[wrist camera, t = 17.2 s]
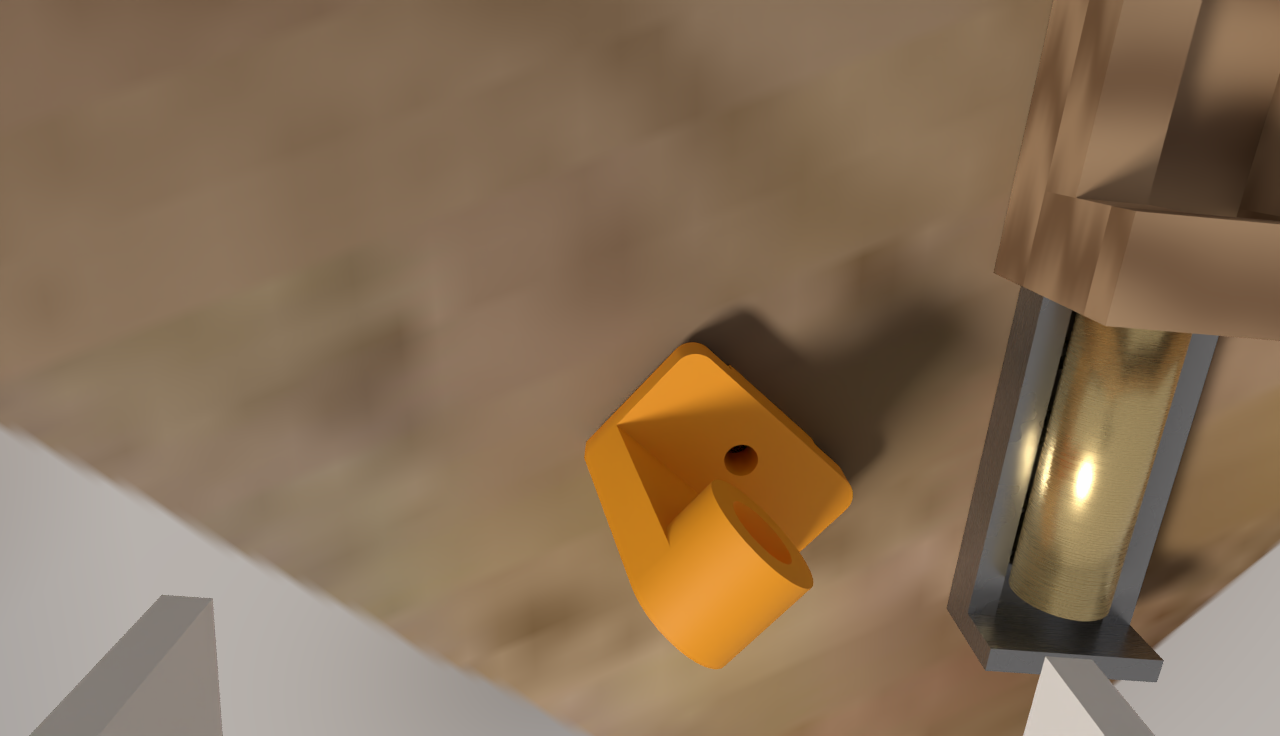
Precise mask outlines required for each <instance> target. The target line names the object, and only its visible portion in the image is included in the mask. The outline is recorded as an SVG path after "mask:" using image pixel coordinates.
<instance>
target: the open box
mask: <svg viewBox="0 0 1280 736" xmlns="http://www.w3.org/2000/svg"><path fill="white" fill-rule="evenodd" d="M994 273H995V274H997V275H999V276H1002V277H1004V278H1006V279H1008V280H1010V281H1012V282H1014V283H1016V284H1018V285H1020V286H1023V287H1025V288H1027V289H1029V290H1031V291H1033V292H1035V293H1037V294H1039V295H1041V296H1044V297H1046V298H1048V299H1050V300H1052V301H1054V302H1056V303H1058V304H1060V305H1062V306H1065V307H1067V308H1069V309H1071V310H1073V311H1075V312H1077V313H1079V314H1081V315H1083V316H1086V317H1088V318H1090V319H1092V320H1094V321H1096V322H1098V323H1100V324H1102V325H1104V326H1111V327H1123V328H1135V329H1146V330H1158V331H1170V332H1181V333H1193V334H1205V335H1216V336H1228V337H1240V338H1252V339H1263V340H1275V341H1280V0H1054V1H1053V5H1052V10H1051V14H1050V19H1049V23H1048V28H1047V32H1046V37H1045V41H1044V46H1043V51H1042V55H1041V60H1040V64H1039V69H1038V73H1037V78H1036V82H1035V87H1034V92H1033V96H1032V101H1031V105H1030V110H1029V114H1028V119H1027V123H1026V128H1025V133H1024V137H1023V142H1022V146H1021V151H1020V155H1019V160H1018V164H1017V169H1016V174H1015V178H1014V183H1013V187H1012V192H1011V196H1010V201H1009V205H1008V210H1007V215H1006V219H1005V224H1004V228H1003V233H1002V237H1001V242H1000V246H999V251H998V256H997V260H996V265H995V269H994Z"/></svg>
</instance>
